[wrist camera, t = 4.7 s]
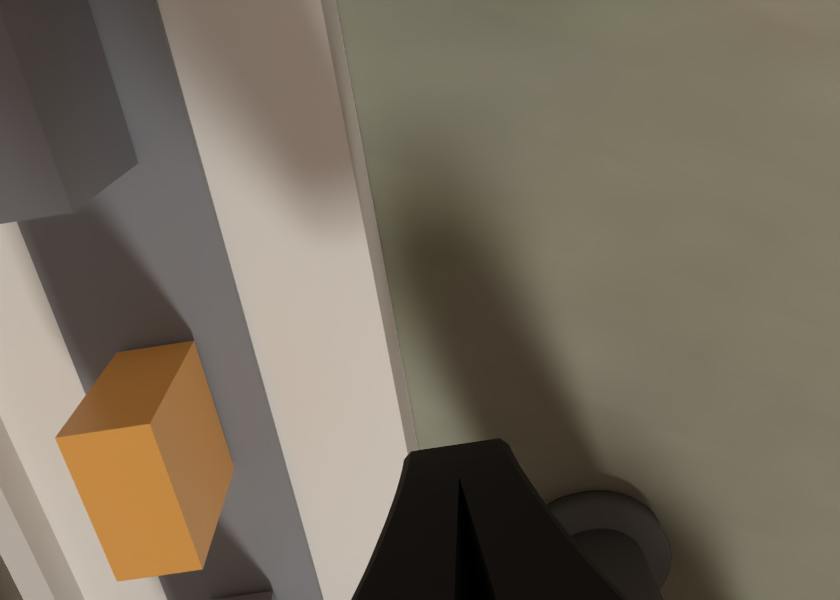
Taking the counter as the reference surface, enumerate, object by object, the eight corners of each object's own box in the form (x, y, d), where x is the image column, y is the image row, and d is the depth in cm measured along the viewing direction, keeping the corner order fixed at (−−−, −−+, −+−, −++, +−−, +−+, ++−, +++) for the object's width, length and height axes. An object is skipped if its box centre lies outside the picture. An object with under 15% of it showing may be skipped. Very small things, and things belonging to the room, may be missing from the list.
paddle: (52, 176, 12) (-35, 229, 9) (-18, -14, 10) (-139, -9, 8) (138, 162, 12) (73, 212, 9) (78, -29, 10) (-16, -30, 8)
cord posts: (521, 615, 20) (609, 1048, 12) (411, -250, 12) (452, -706, 4) (664, 595, 20) (850, 1018, 12) (649, -291, 12) (1198, -848, 4)
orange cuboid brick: (163, 478, 14) (116, 581, 12) (116, 352, 13) (55, 437, 11) (234, 468, 14) (203, 569, 12) (194, 340, 13) (150, 423, 10)
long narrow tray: (191, 711, 21) (152, 853, 18) (-227, -293, 12) (-489, -406, 8) (459, 674, 21) (473, 811, 18) (265, -382, 11) (211, -536, 8)
